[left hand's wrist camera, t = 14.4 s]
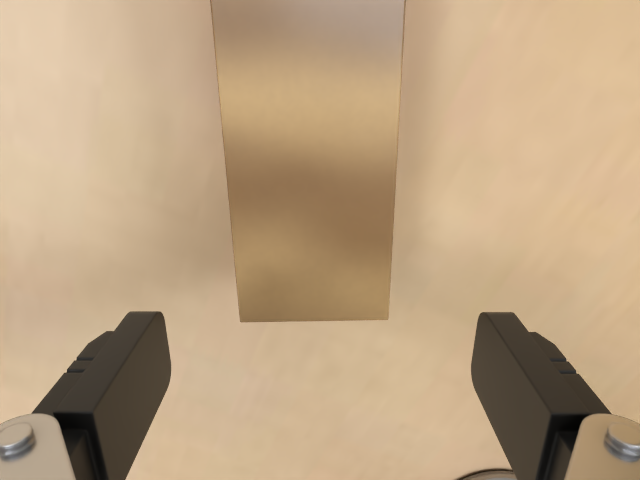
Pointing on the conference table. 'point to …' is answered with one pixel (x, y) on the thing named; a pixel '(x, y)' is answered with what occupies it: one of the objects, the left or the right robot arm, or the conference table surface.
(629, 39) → the conference table surface
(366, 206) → the box
